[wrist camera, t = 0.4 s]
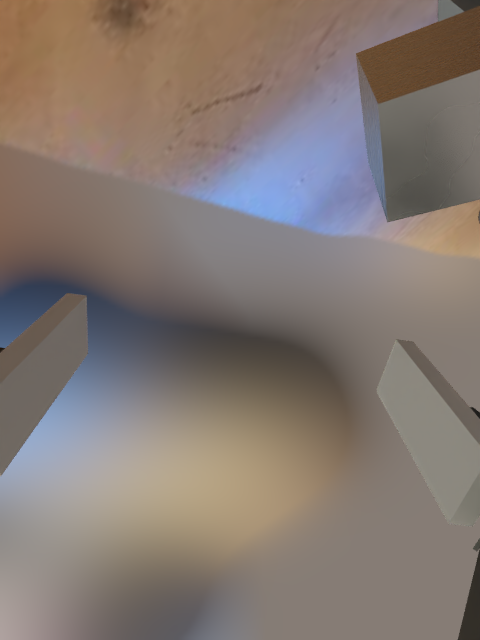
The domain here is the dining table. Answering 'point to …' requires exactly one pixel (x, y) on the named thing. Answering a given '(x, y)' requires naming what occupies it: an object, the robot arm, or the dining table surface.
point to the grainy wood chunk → (424, 116)
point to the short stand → (454, 7)
